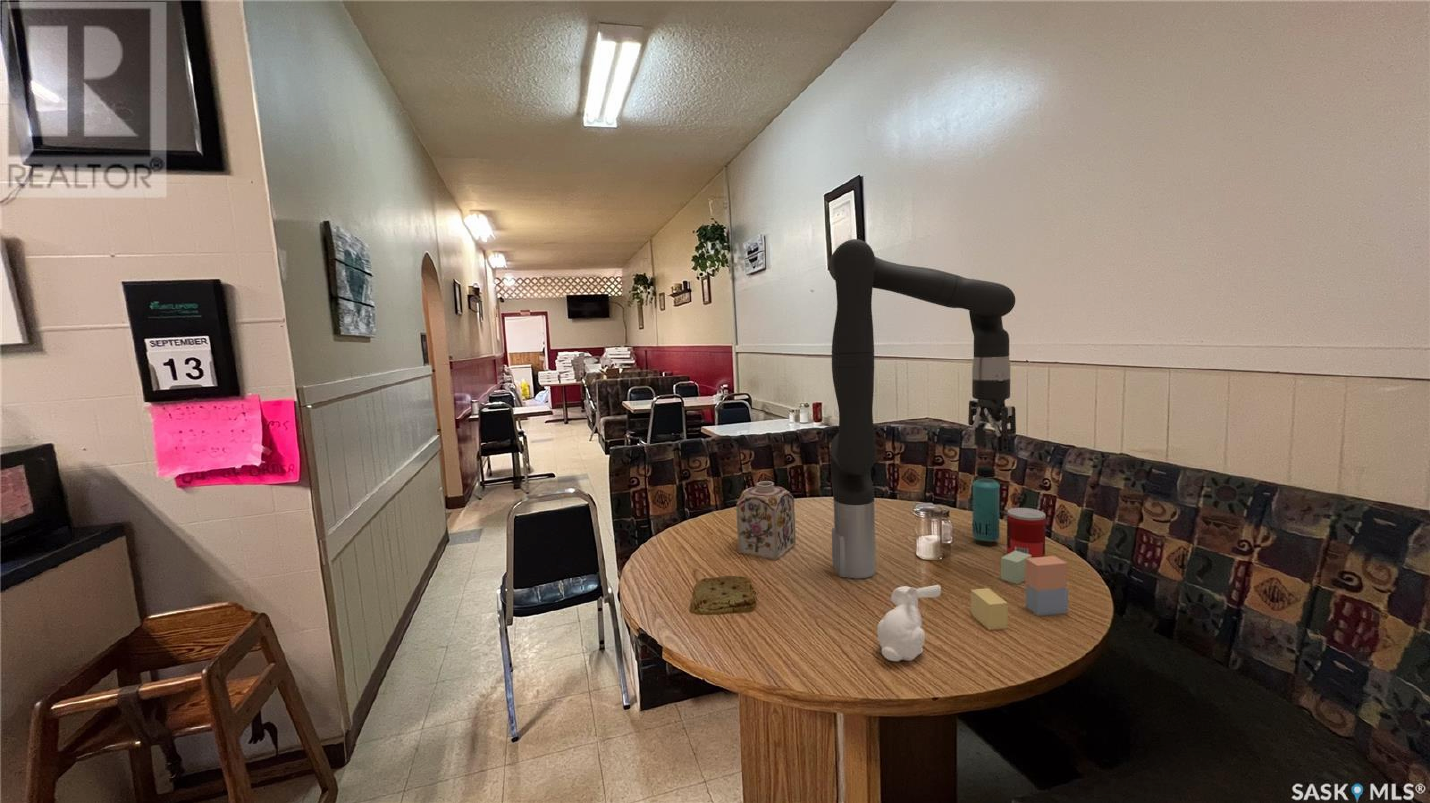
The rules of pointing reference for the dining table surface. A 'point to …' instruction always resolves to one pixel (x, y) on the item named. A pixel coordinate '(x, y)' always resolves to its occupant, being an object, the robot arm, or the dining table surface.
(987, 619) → the ochre brick
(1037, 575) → the terracotta brick
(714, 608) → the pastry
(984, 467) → the beverage bottle
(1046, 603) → the slate brick
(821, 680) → the dining table surface
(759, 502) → the decorative jar
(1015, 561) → the sage brick
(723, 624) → the dining table surface
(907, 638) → the rabbit
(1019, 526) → the canned food
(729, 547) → the dining table surface
